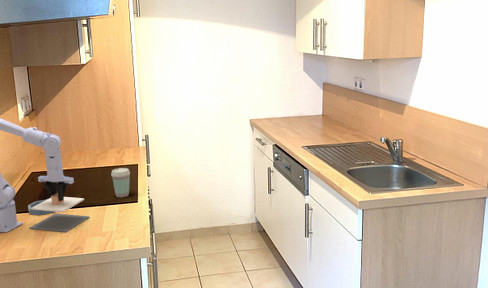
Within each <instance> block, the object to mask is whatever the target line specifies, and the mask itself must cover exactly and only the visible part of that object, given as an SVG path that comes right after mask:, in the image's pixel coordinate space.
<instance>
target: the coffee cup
mask: <svg viewBox="0 0 488 288" xmlns="http://www.w3.org/2000/svg"><path fill="white" fill-rule="evenodd" d="M130 174H131V171H130V169H129V168H127V167H119V168H114V169H112V170H111V174H110V175H111V176H110V177H111V178H112V183H113V187H114V188H113V189H114V194H115V196H116V197H117V198H126V197H128V196H129V194H130V179H131V178H130V177H131V175H130Z"/></svg>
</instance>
